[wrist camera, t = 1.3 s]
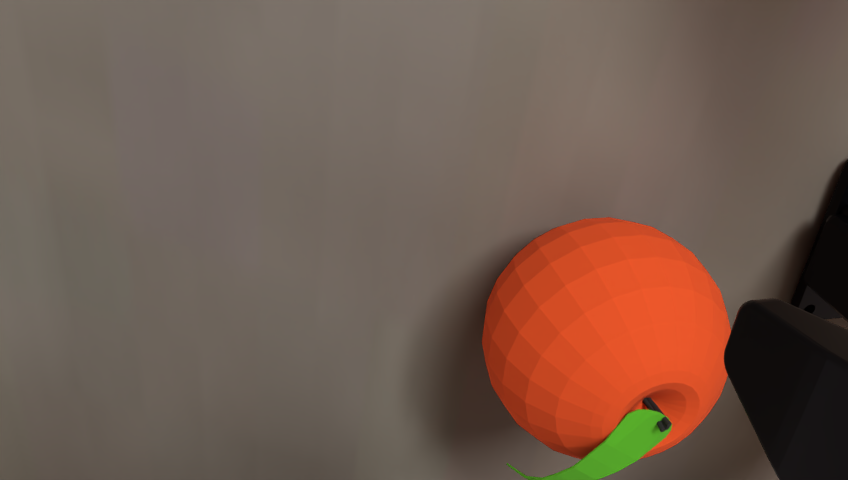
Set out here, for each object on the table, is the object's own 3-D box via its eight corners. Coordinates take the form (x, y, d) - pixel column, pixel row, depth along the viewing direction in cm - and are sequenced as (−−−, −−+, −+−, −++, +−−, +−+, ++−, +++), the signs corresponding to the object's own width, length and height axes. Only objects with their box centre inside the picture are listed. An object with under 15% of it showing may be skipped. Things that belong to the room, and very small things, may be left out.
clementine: (530, 402, 29) (618, 573, 23) (387, 323, 26) (448, 501, 20) (695, 244, 27) (837, 387, 21) (563, 132, 23) (691, 269, 18)
